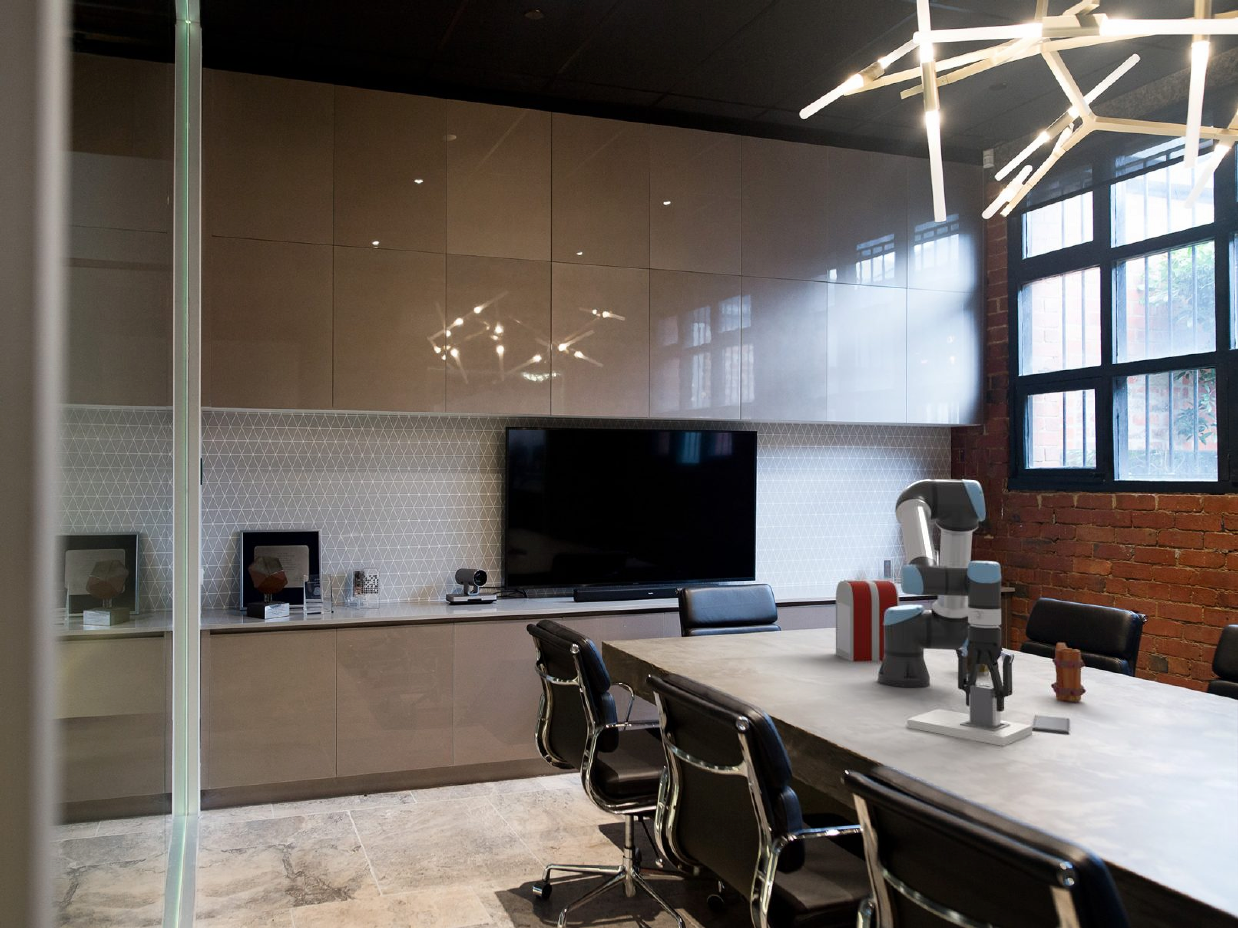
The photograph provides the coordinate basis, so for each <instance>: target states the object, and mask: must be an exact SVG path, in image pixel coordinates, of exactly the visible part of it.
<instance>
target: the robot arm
mask: <svg viewBox="0 0 1238 928" xmlns="http://www.w3.org/2000/svg"><path fill="white" fill-rule="evenodd" d="M894 510H895V511H894V513H895V518H896V520H897V522H898V523H899V524H900V527H901V528H900V529H901V535H902V541H903V547H904V552H905V553H904V555H905V559H906V565H902V567H901V569H900V584H901V591H902V593H904V594H905V595H915V596H937V600H935V601H934V602H933V603H932V604H931V605H932V606H931V610H930V609H929V610H928V609H925V608H924V605H921V604H905V605H902V604H901V605H899V606H895V607H891V608H888V609H887V610H886V611H885V613H884V623H883V625H884V658H883V661H881V664H880V667H879V671H878V673H877V681H878V682H879V683H880V684H883V685H888V686H893V687H900V688H901V687H903V688H921V687H922V688H923V687H927V686H930V684H931V681H930V680H931V677H930V674H929V669H928V667H927V664H926V661H925V657H924V655H925V653H924V651H925V650H927V649H928V650H950V651H951V650H952V651H955V653H956V657H957V689H959V690H961V691H964V692H965V704H966V707H969V709H968V710H969V711H968V712H969V713H968V714H969V721H970V686H971V685H974V684H977V680H978V677H979V675H978V673H979V669H980V666H981V665H982V664H985V665H987V667H988V669H989V671H990V672H989V675H990V679H991V682H992V685H993V687H994V691H995V695H996V696H994V697H993V725H994V726H997V725H999V724H1001V720H1002V719H1001V717H1002V716H1001V714H1002V713H1001V712H1004V710H1005V698H1006V697H1010V696H1012V695H1013V662H1014V659H1015V655H1014V654H1013V653H1007V652H1006V651H1004V650H1003V648H1002V628H1001V627H1000V626H1001V625H1002V607H1001V606H1002V599H1001V598H1002V573H1001V572H1002V571H1001V564H1000V563H999V562H998V561H993V560H991V561H990V560H972V561H971V559H972V558H971V557H972V556H971V555H972V541H973V532H975V531H976V530H978V528H979V522H983V521H985V519H986V503H985V497H984V491H983V489H982V485H981V483H980V482H979V481H978V480H972V479H964V478H962V479H922V480H918V481H916V482H913V483H912V484H910V485H909V486H907V487H906V488H905V489H904V490H902V492H901V493H900V495H899V496H898V498H897V500H896V503H895V509H894ZM930 521H935V525H936V527H938V528H939V529H940V548H939V549H940V551H939V564H938V560H937V556H936V555H937V554H936V551H935V545H934V540H933V535H932V530H931V525H930ZM968 652H969V654H970V656H971V657H972V661H971V668H970V672H969V674H968V673H967V655H968ZM1000 658H1001V661H1002V677H1001V673H1000V670H999V662H998V660H999V659H1000Z"/></svg>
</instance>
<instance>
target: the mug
mask: <svg viewBox="0 0 1238 928" xmlns="http://www.w3.org/2000/svg"><path fill="white" fill-rule="evenodd" d="M1054 652H1055V653H1054V655H1055V656H1054V658H1053V659H1051V660H1052V663H1053V664H1054V668H1055V677H1056V678H1055V682H1054V683H1051V684H1050V687H1051V688H1052V690H1053V692H1054V693H1055V699H1057V700H1058V701H1061V702H1070V703H1076V702H1080V701H1081V700H1082V696H1083V695H1084V694H1085V693H1086V692H1087V690H1086V688H1085V687H1084V686H1083V684H1082V668H1084V667H1086V664H1085V663H1084V660H1083V659H1082V655H1081V650H1080V649H1077V648H1076V649H1073V648H1071V647H1070V648H1069V647H1068V646H1067V645H1066V643H1065V642H1057V643H1056V645H1055V650H1054Z"/></svg>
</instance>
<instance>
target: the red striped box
mask: <svg viewBox="0 0 1238 928" xmlns="http://www.w3.org/2000/svg"><path fill="white" fill-rule="evenodd" d="M899 596H900V595H899V591H898V587H897V585H896V584H895V583H894V582H892V581H890V580H889V579H846V580H845V579H844V580H840V581H839V582H838V584H837V585H836V593H835V654H836V655H837V656H839V657H842V658H843V659H845V660H846V661H849V662H855V663H856V662H882V661H883V658H884V625H883V623H884V613H885V611H886V610H887V609H888V608H891V607H895V606H900V597H899Z"/></svg>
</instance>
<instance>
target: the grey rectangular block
mask: <svg viewBox="0 0 1238 928" xmlns="http://www.w3.org/2000/svg"><path fill="white" fill-rule="evenodd" d="M994 696H996V695H995V691H994V687H993V684H991V683H990V684H988V683H982V682H976V684H974V685H971V686H970V723H971V724H977V725H982V726H988V727H992V726H994V725H993V697H994Z"/></svg>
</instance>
